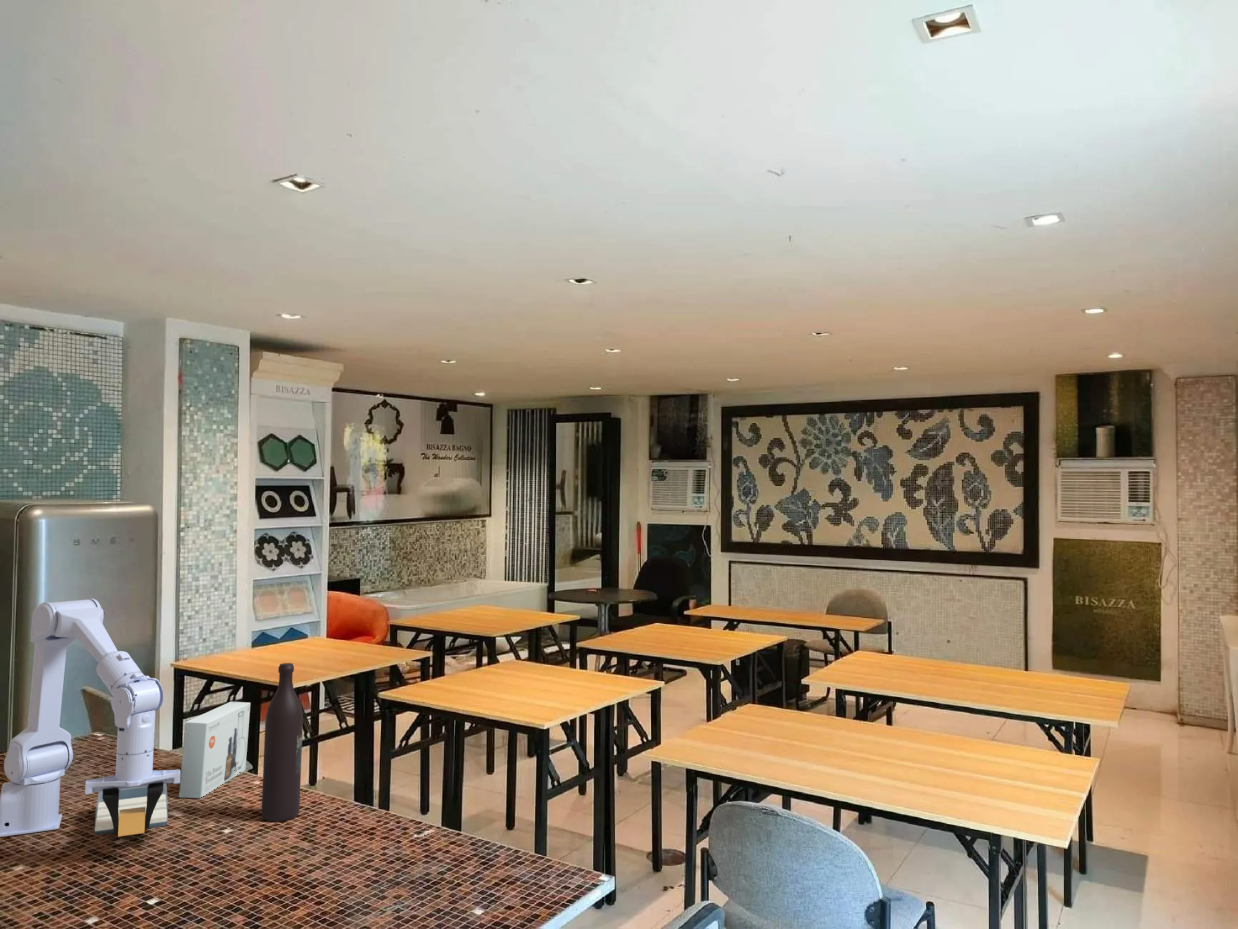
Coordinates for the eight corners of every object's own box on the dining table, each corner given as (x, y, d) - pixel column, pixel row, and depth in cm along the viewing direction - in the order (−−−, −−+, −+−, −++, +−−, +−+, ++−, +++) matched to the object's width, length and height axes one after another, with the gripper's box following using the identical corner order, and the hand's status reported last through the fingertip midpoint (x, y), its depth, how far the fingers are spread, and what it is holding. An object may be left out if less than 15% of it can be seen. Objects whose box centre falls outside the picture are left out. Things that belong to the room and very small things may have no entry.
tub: (94, 835, 160) (95, 813, 161) (97, 812, 173) (98, 791, 173) (167, 825, 166) (167, 804, 166) (165, 803, 178) (166, 783, 179)
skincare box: (203, 799, 181) (206, 722, 182) (177, 799, 182) (181, 722, 182) (248, 769, 202) (251, 701, 203) (225, 769, 203) (228, 700, 203)
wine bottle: (299, 820, 170) (305, 666, 172) (261, 824, 168) (267, 668, 169) (298, 808, 177) (304, 660, 179) (261, 812, 174) (267, 662, 176)
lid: (93, 840, 147) (94, 818, 148) (98, 806, 164) (99, 787, 164) (167, 829, 153) (168, 808, 153) (165, 798, 169) (166, 779, 169)
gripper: (85, 761, 145) (81, 844, 144) (182, 751, 152) (178, 830, 151) (88, 751, 151) (84, 830, 151) (180, 741, 158) (177, 817, 157)
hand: (131, 829), depth 151 cm, fingers closed on lid, 4 cm apart
